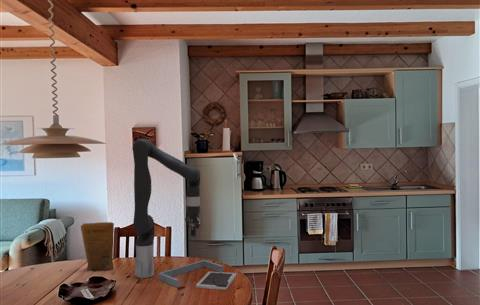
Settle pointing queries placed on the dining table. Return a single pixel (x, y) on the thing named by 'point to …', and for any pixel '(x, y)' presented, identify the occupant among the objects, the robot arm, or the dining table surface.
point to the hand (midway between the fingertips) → (193, 236)
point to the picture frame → (216, 280)
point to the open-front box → (168, 278)
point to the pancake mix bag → (98, 245)
